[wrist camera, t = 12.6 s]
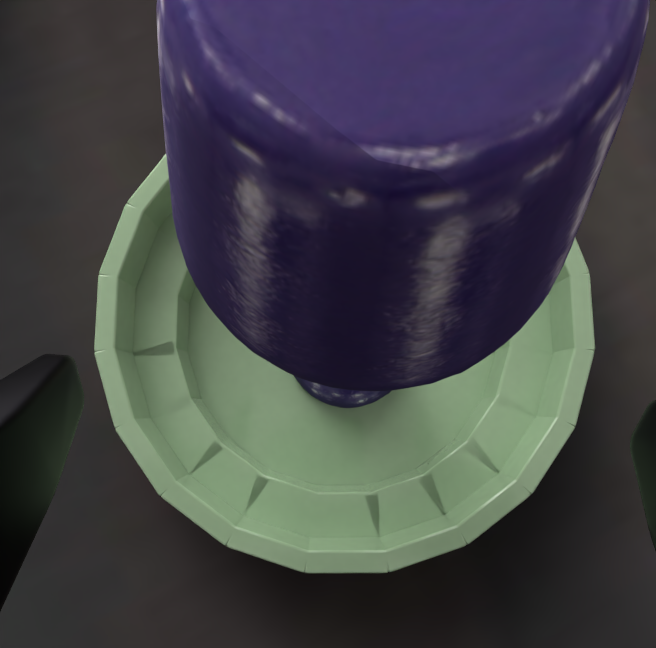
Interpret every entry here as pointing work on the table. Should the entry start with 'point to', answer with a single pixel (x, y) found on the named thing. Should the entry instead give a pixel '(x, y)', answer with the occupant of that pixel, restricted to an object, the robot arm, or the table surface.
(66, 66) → the table surface
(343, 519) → the bowl
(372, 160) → the toy lamp
